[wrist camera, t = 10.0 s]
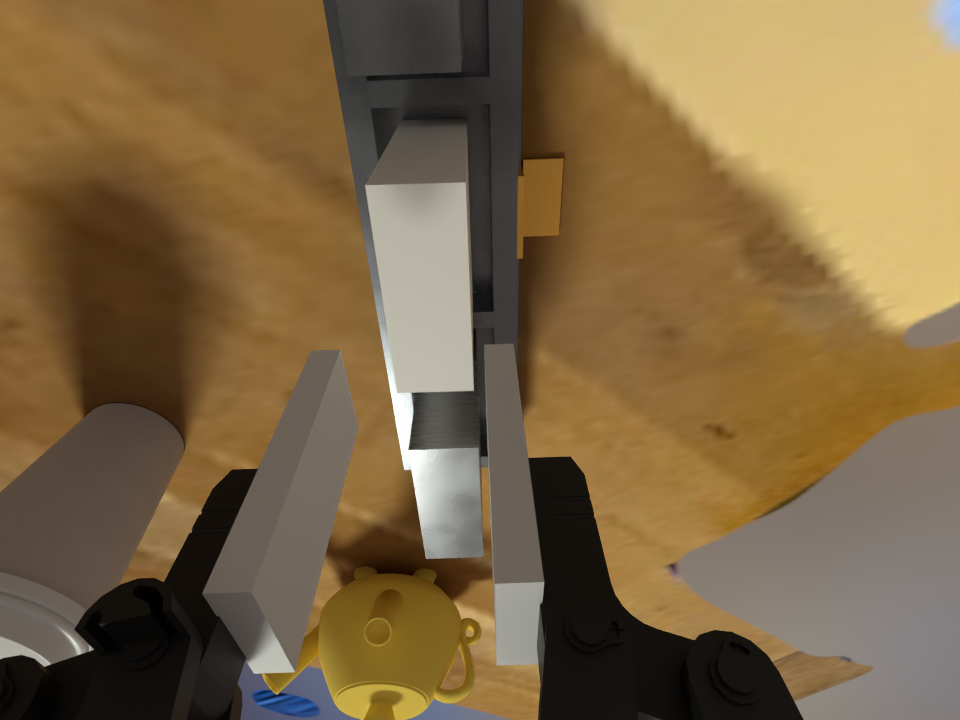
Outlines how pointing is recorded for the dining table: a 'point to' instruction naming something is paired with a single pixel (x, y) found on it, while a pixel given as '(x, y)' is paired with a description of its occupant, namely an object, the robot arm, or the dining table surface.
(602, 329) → the dining table surface
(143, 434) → the coffee cup
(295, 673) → the teapot
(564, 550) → the robot arm
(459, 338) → the panel
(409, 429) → the rack
